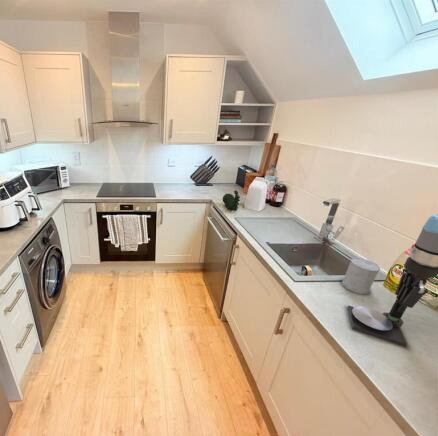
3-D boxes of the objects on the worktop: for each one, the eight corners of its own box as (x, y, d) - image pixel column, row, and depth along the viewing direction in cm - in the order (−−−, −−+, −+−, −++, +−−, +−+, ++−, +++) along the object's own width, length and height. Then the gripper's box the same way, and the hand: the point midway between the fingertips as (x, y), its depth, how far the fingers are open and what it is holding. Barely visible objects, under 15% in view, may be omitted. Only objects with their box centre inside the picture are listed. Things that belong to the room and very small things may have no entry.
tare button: (395, 318, 87) (397, 315, 86) (398, 323, 85) (399, 320, 84) (386, 315, 88) (388, 312, 87) (388, 320, 86) (390, 317, 85)
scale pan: (387, 314, 88) (387, 313, 88) (396, 335, 79) (397, 334, 79) (350, 303, 93) (350, 302, 93) (355, 322, 84) (355, 321, 84)
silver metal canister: (373, 296, 101) (385, 272, 96) (346, 291, 104) (356, 268, 99) (362, 282, 109) (373, 260, 104) (338, 278, 112) (347, 256, 107)
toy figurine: (240, 215, 187) (229, 202, 209) (245, 193, 178) (233, 181, 199) (228, 215, 186) (218, 202, 208) (232, 193, 177) (222, 182, 199)
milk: (244, 207, 198) (249, 177, 188) (250, 204, 205) (255, 175, 195) (258, 211, 190) (264, 180, 179) (264, 208, 197) (270, 177, 187)
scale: (397, 322, 88) (400, 316, 87) (409, 348, 78) (413, 342, 77) (347, 306, 95) (349, 301, 94) (352, 329, 85) (355, 323, 84)
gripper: (402, 249, 83) (376, 301, 92) (416, 268, 73) (385, 324, 82) (432, 255, 79) (402, 308, 89) (451, 275, 69) (415, 333, 79)
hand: (394, 316), depth 86 cm, fingers closed
